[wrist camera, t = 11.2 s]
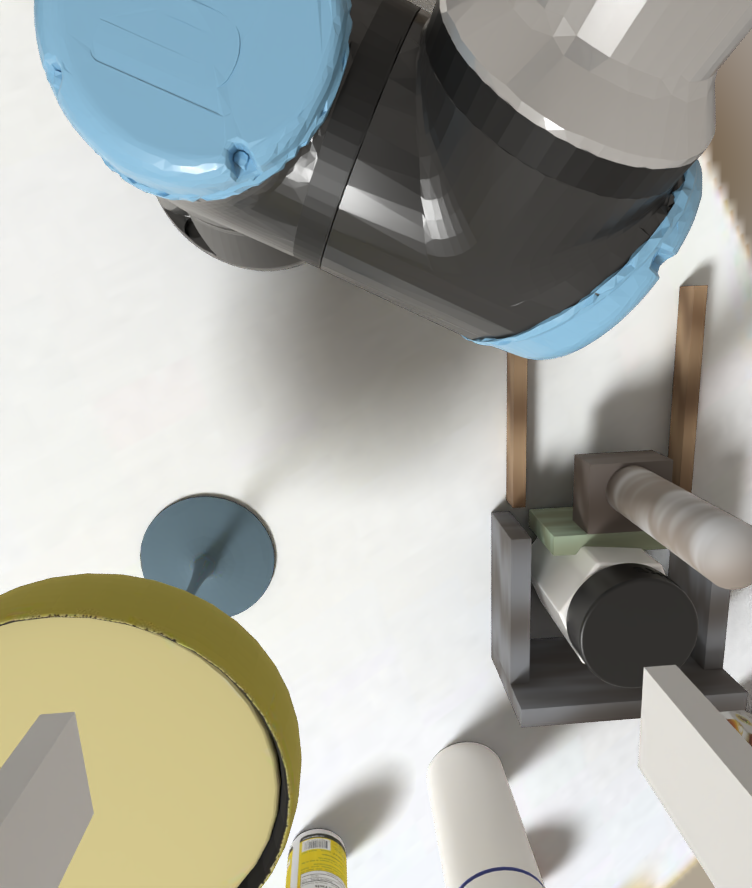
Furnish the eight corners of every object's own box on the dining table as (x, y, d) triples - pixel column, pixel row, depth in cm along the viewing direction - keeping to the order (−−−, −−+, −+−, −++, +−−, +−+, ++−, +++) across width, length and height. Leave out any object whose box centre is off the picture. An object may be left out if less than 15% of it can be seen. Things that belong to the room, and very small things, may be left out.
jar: (634, 581, 52) (719, 661, 40) (549, 622, 53) (608, 713, 41) (596, 494, 50) (674, 552, 38) (508, 537, 51) (558, 607, 39)
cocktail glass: (340, 479, 49) (340, 654, 24) (293, 674, 52) (252, 995, 28) (113, 429, 47) (-136, 565, 22) (80, 635, 50) (-163, 944, 26)
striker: (529, 447, 48) (637, 528, 31) (663, 439, 49) (844, 515, 31) (528, 526, 50) (630, 646, 32) (658, 518, 50) (827, 632, 33)
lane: (491, 295, 46) (526, 293, 37) (708, 285, 47) (792, 280, 38) (491, 657, 53) (521, 727, 44) (679, 643, 54) (745, 709, 45)
